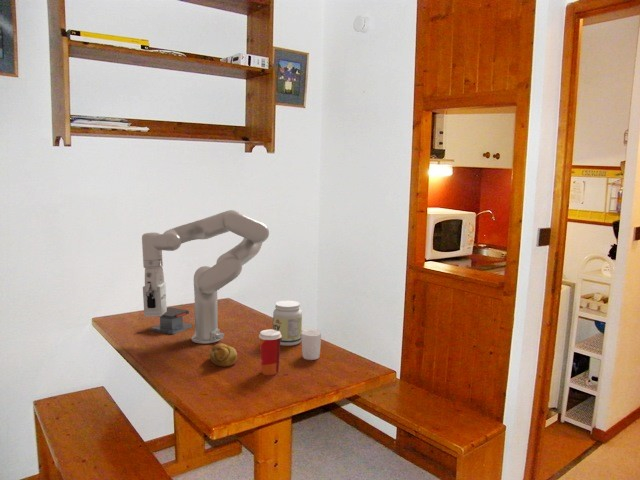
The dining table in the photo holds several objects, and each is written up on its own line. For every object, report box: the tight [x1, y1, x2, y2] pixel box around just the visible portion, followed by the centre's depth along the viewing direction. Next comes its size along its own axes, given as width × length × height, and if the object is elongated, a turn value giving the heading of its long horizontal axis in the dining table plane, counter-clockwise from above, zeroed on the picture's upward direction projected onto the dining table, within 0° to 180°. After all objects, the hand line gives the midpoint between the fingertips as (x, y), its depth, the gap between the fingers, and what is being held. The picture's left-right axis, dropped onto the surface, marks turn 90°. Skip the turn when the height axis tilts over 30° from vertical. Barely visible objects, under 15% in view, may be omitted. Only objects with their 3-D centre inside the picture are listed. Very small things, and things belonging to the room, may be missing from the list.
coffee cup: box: [258, 328, 282, 376], centre depth 189 cm, size 8×8×15 cm
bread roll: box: [208, 342, 238, 368], centre depth 199 cm, size 13×10×8 cm
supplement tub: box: [272, 300, 303, 347], centre depth 222 cm, size 12×12×17 cm
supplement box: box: [142, 282, 168, 318], centre depth 216 cm, size 7×7×13 cm
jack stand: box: [150, 306, 193, 336], centre depth 238 cm, size 13×13×8 cm
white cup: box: [301, 329, 322, 361], centre depth 205 cm, size 8×8×10 cm
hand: (155, 304), depth 216 cm, fingers closed on supplement box, 7 cm apart
